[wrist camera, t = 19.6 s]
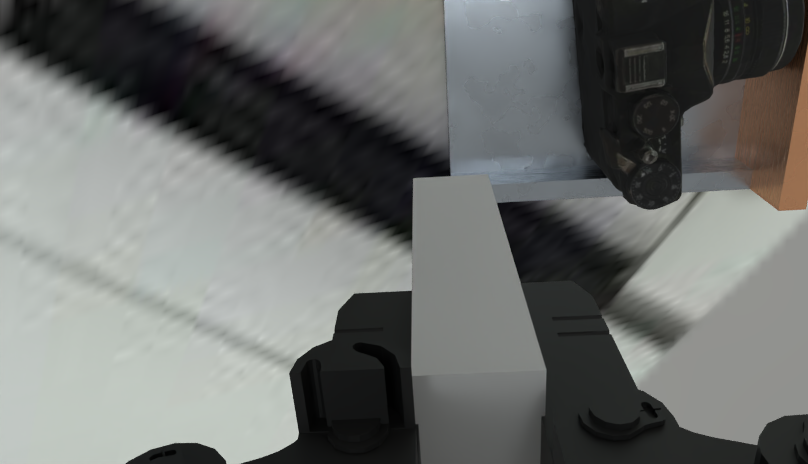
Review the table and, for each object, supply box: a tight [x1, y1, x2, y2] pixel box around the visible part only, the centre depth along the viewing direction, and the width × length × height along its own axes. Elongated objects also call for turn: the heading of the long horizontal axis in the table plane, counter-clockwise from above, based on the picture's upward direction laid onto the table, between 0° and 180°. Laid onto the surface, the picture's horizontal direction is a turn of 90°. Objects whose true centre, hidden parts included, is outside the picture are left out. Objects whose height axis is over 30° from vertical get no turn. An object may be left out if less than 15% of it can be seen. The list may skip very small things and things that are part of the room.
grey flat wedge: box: [443, 0, 808, 211], centre depth 37 cm, size 20×19×7 cm
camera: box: [572, 0, 805, 210], centre depth 35 cm, size 14×11×10 cm
